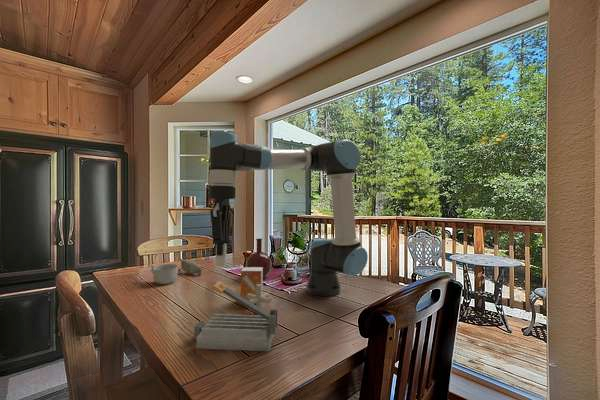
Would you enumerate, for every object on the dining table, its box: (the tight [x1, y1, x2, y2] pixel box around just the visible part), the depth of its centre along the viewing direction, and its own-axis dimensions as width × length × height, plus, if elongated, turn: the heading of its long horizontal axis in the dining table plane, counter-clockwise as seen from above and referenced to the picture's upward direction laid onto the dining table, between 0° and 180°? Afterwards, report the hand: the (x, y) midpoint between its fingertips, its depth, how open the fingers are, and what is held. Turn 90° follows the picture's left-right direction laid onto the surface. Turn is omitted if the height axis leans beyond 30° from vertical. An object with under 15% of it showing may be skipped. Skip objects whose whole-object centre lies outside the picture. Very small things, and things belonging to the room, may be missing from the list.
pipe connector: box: [247, 284, 272, 309], centre depth 104 cm, size 10×10×10 cm
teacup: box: [150, 263, 179, 286], centre depth 140 cm, size 14×11×8 cm
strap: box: [212, 280, 270, 320], centre depth 84 cm, size 20×5×1 cm
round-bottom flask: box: [245, 238, 273, 278], centre depth 151 cm, size 13×13×20 cm
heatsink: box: [193, 308, 279, 352], centre depth 84 cm, size 23×12×8 cm, turn 87°
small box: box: [239, 266, 264, 305], centre depth 115 cm, size 8×6×13 cm
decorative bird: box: [177, 258, 202, 277], centre depth 156 cm, size 5×16×7 cm, turn 60°
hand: (220, 265), depth 85 cm, fingers closed
